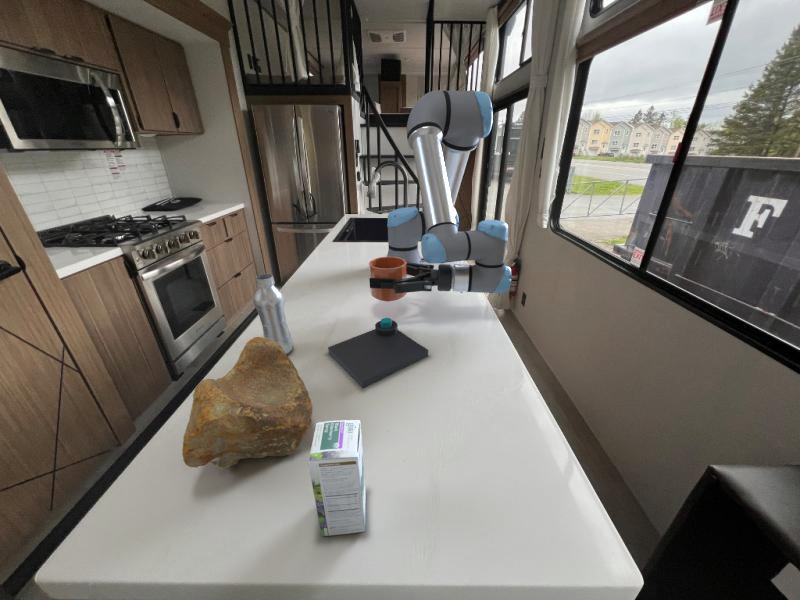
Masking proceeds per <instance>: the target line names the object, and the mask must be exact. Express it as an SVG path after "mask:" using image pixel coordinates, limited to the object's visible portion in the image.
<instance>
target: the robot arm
mask: <svg viewBox="0 0 800 600" xmlns="http://www.w3.org/2000/svg"><path fill="white" fill-rule="evenodd" d="M492 104H493V103H492V100H491V98H490V96H489V94H488V93H487V92H485V91H481V90H474V89H471V90H441V89H435V90H432V91H429V92H427V93H425V94H424V95H422V96H421V97H419V99H418V101H416V102H415V104H414V105H413V107H412V108H411V111H410V113H409V115H408V119H407V122H406V139H407V145H408V147H409V148H410V150H412V153H413V158H414V165H415V169H416V174H417V180H418V185H419V191H420V196H421V203H422V208H423V210H419V209H418V207H415V206H410V207H408V206H406V207H400V208H396V209H393V210H391V211H390V212H389V213H388V215H387V224H386V226H387V241H388V243H387V245H388V249H387V250H388V251H387V254H386V257H398V258H402V259H404V260H405V261H406V262H407V276H408V275H409V276H411V277H407V278H405V279H400V280H396V279H395V278H393V279H387V278H370V277H369V279H368V281H369V289H370V288H379V289H393V290H395V293H406V294H407V293H418V292H432V291H433V287H436V286H437V291H438V292H451V291H453V292H457V293H458V292H459V293H461V294H463V293H482V294H483V293H484V294H506V293H508V292H509V290H510V288H511V285H512V269H511V267H510V266H508V265H505V257H506V250H507V245H508V241H509V225H508V224H507V223H506V222H505V221H502V220H497V219H486V220H485V219H484V220H481V221H479V222H478V225H477V228H476V229H474V230H473V229H472V230H462V231H461V230H460V231H458V230H459V222H460V221H459V220H460V219H459V214H458V212H457V210H456V208H455V204H456V201H457V198H458V193H459V191H460V187H461V183H462V181H463V176H464V174H465V170H466V167H467V163H468V160H469V157H470V154H471V152H472V151H474V150H475V149H476V148H477V147H478V144H479V142H480V139H484V138H487V137H488V136H489V135H490V133H491V130H492V127H493V119H494V114H493V113H494V110H493V105H492ZM419 243H420V248H421V249H420V250H421V251H419ZM420 252H421V255H420ZM421 256H422V258H421ZM423 261H424V262H425V264H423ZM466 261H474V264H463V263H462V264H460V263H459V264H457V262H466ZM455 262H456V263H455ZM426 263H427V264H426ZM447 263H449V264H447ZM450 263H454V264H453V265H452V264H450ZM434 264H438V267H437V269H435V265H434Z"/></svg>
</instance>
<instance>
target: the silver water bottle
mask: <svg viewBox="0 0 800 600" xmlns="http://www.w3.org/2000/svg"><path fill="white" fill-rule="evenodd" d="M254 280H255V285H256V288H257V289H256V292H255V293H254V295H253V300H252V301H253V305H254V307H255V309H256V312H257V314H258V316H259V321H260V323H261V326H262V331H263V332H262V333H263V337H264V338H269V339H270V340H272V341H274V342H277V343H278V344H279V345H280V346H281V347H282V349H283V350H284V352H285V353H286V355H287V354H289V353H290V352H291V351H292V349H293V348H294V338H293V337H292V334H291V332H290V329H289V326H288V323H287V319H286V311H285V297H284V294H283V292H282V291H281V290H280V289H279V288H278V287H277V286H276V285H275V284H276V281H275V277H274V275H273V274H272V273H263V274H260V275H257V276H255V279H254Z"/></svg>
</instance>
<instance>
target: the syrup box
mask: <svg viewBox="0 0 800 600" xmlns="http://www.w3.org/2000/svg"><path fill="white" fill-rule="evenodd" d="M362 439H363V438H362V425H361V420H359V419H345V420H344V419H340V420H337V419H336V420H327V421H319V422H316V423H315V428H314V433H313V438H312V443H311V448H310V452H309V458H308V461H307V462H308V463H307V464H308V469H309V474H310V481H311V486H312V492H313V496H314V497H313V498H314V502H315V503H314V504H315V508H316V512H317V517H318V518H317V519H318V523H319V529H320V535H321V536H322V537H329V536H338V535H349V534H357V533H365V531H366V499H367V498H366V491H367V490H366V487H367V486H366V473H365V463H364V461H365V460H364V451H363V450H364V449H363V440H362Z"/></svg>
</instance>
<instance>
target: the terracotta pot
mask: <svg viewBox="0 0 800 600" xmlns="http://www.w3.org/2000/svg"><path fill="white" fill-rule="evenodd" d="M368 272H369V273H368V274H369V279H370V278H387V279H393V278H395V279H396V280H400V279H405V278H408V274H407V262H406V261H405V260H404V259H402V258H398V257H387V256H381V257H375V258H373V259H372V260H370V261H369V262H368ZM369 290H370V295H371V297H373V298H374V299H376V300H378V301H382V302H395V301H398V300H400V299H403V298H404V297H405V296H407V293H395V290H393V289H379V288H370V287H369Z"/></svg>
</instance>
